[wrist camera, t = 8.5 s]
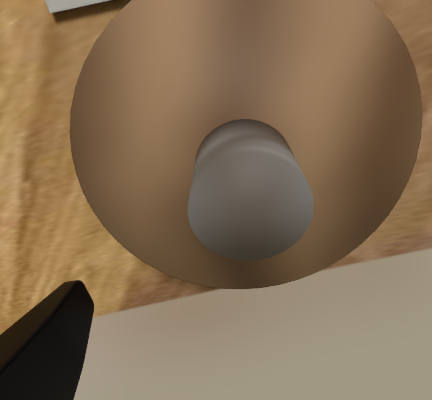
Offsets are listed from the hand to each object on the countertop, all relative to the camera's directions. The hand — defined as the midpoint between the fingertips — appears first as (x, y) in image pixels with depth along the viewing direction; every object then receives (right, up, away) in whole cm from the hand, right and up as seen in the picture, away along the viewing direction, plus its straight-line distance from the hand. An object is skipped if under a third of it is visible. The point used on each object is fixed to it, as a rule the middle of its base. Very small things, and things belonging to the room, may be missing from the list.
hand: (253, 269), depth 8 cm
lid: (0, +4, +6) cm, 7 cm away
